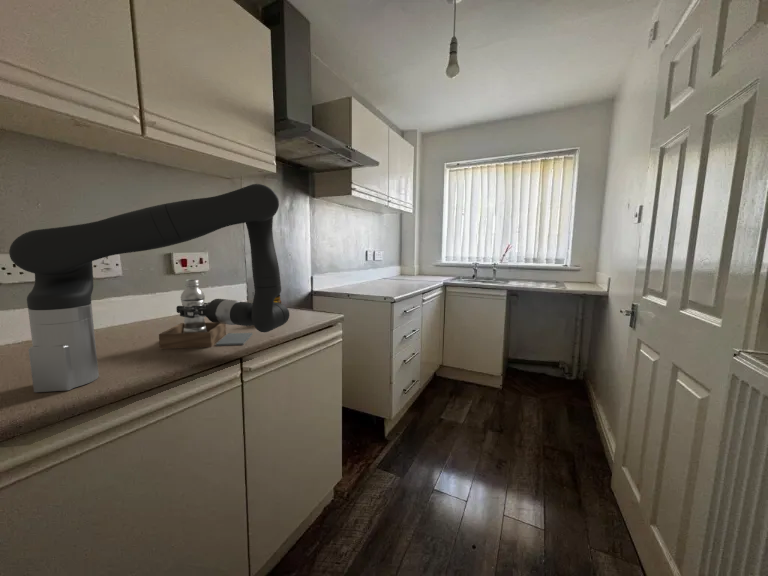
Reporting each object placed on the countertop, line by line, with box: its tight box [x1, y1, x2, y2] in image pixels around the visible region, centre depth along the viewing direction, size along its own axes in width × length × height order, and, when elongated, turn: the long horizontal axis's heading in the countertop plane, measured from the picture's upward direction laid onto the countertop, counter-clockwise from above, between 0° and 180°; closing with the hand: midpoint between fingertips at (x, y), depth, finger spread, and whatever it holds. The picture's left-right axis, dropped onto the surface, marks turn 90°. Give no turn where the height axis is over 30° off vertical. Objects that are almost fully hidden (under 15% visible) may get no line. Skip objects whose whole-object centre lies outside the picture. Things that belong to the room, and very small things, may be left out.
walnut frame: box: [158, 321, 227, 350], centre depth 96 cm, size 14×14×4 cm
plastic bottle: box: [180, 279, 207, 333], centre depth 95 cm, size 6×7×20 cm
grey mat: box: [215, 332, 253, 347], centre depth 99 cm, size 12×8×1 cm, turn 11°
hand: (188, 307), depth 96 cm, fingers closed on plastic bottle, 6 cm apart
